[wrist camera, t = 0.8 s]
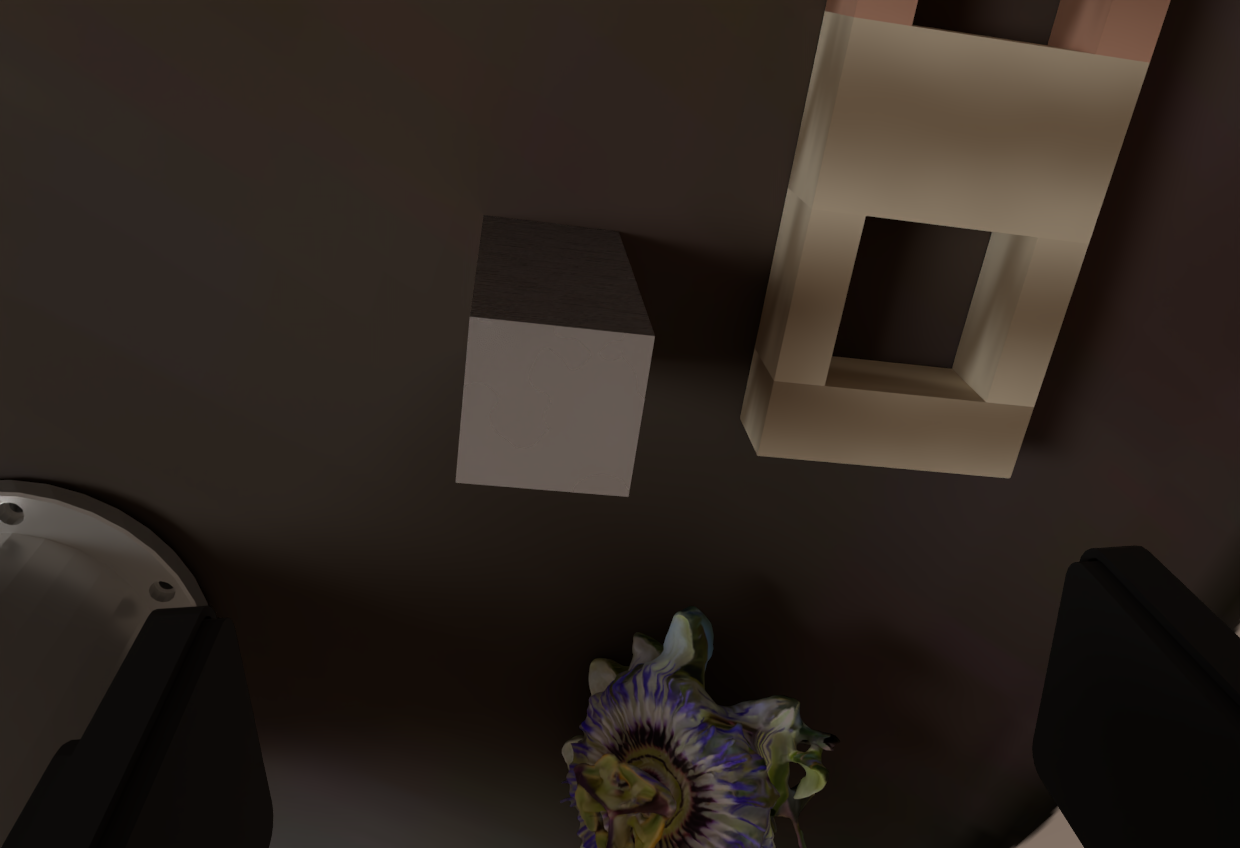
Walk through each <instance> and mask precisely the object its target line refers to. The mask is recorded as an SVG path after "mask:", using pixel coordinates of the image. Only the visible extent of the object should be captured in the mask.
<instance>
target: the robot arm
mask: <svg viewBox="0 0 1240 848" xmlns="http://www.w3.org/2000/svg"><path fill="white" fill-rule="evenodd" d="M1032 750H1033V759H1034V764H1035V767H1036V770H1037V773H1038V775H1039V776H1040V778H1041V780H1042V782H1043V783H1044V785H1045V786H1046V788H1047V790H1048V791H1049V793H1050V794H1051V796H1052V797H1053V799H1054V801H1055V802H1056V804H1057V805H1058V807H1059V809H1060V810H1061V812H1062V813H1063V815H1064V817H1065V818H1066V820H1067V821H1068V823H1069V824H1070V826H1071V828H1072V829H1073V831H1074V832H1075V834H1076V835H1077V837H1078V839H1079V840H1080V842H1081V843H1082V845H1083V847H1084V848H1240V638H1239V637H1238V636H1237V635H1236V634H1235V633H1234V632H1233V631H1232V630H1231V629H1230V628H1229V627H1228V626H1227V625H1226V624H1225V623H1224V622H1223V621H1222V620H1221V619H1219V618H1218V617H1217V616H1216V615H1215V614H1214V613H1213V612H1212V611H1211V610H1210V609H1209V608H1208V607H1207V606H1206V605H1205V604H1204V603H1203V602H1202V601H1201V600H1200V599H1198V598H1197V597H1196V596H1195V595H1194V594H1193V593H1192V592H1191V591H1190V590H1189V589H1188V588H1187V587H1186V586H1185V585H1184V584H1183V583H1182V582H1181V581H1180V580H1179V579H1178V578H1176V577H1175V576H1174V575H1173V574H1172V573H1171V572H1170V571H1169V570H1168V569H1167V568H1166V567H1165V566H1164V565H1163V564H1162V563H1161V562H1160V561H1159V560H1158V559H1157V558H1155V557H1154V556H1153V555H1152V554H1151V553H1150V552H1149V551H1148V550H1146V549H1145V548H1143V547H1141V546H1122V547H1107V548H1091V549H1089V550H1087V551H1085V552H1084V554H1083V555H1082V557H1081V559H1080V562H1075V563H1073V564H1071V565H1070V566H1069V568H1068V570H1067V573H1066V577H1065V582H1064V587H1063V592H1062V597H1061V602H1060V608H1059V613H1058V618H1057V623H1056V628H1055V633H1054V638H1053V643H1052V648H1051V653H1050V658H1049V663H1048V668H1047V673H1046V678H1045V683H1044V688H1043V693H1042V698H1041V703H1040V708H1039V713H1038V718H1037V723H1036V728H1035V733H1034V739H1033V746H1032ZM272 829H273V807H272V800H271V796H270V791H269V786H268V781H267V777H266V772H265V767H264V763H263V758H262V753H261V748H260V744H259V739H258V734H257V730H256V725H255V720H254V715H253V711H252V706H251V701H250V697H249V692H248V687H247V683H246V678H245V673H244V668H243V664H242V659H241V654H240V649H239V645H238V640H237V635H236V631H235V627H234V624H233V622H232V620H231V619H229V618H218V619H217V617H216V613H215V612H214V610H213V608H212V607H210V606H208V603H207V601H206V599H205V597H204V595H203V593H202V591H201V589H200V587H199V585H198V583H197V581H196V579H195V577H194V576H193V574H192V573H191V572H190V571H189V569H188V568H187V567H186V566H185V564H184V563H183V562H182V560H181V559H180V558H179V557H178V555H177V554H176V553H175V552H174V551H173V550H172V549H171V548H170V547H169V546H168V545H167V544H166V543H164V542H163V541H162V540H161V539H160V538H159V537H158V536H157V535H156V534H154V533H153V532H152V531H151V530H150V529H149V528H147V527H146V526H144V525H143V524H141V523H139V522H138V521H136V520H135V519H133V518H132V517H130V516H128V515H127V514H125V513H124V512H122V511H121V510H119V509H117V508H115V507H112V506H110V505H108V504H106V503H103V502H101V501H99V500H96V499H94V498H92V497H90V496H87V495H85V494H82V493H78V492H75V491H71V490H67V489H64V488H60V487H56V486H53V485H49V484H42V483H33V482H25V481H16V480H0V848H269V845H270V841H271V836H272Z"/></svg>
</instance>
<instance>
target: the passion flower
mask: <svg viewBox="0 0 1240 848" xmlns="http://www.w3.org/2000/svg"><path fill="white" fill-rule="evenodd" d="M713 639H714V634H713V629H712V624H711V622H710V621H709V620H708V618H707V617H706V616H705V615H704V614H703V613H702V612H701V611H700V610H699V609H698V608H696V607H694V606H689V607H687V608H685V609H683V610H682V611H679V612H677V613H676V614H675V615H674V616H673V620H672V622H671V625H670V628H669V631H668V633H667V635H666V638H665V641H664V644H663V645H664V646H663V645H662V644H661V643H659V642H658V641H657V640H655V639H653V638H652V637H649V636H647V635H645V634H642V633H640V632H637V633H635V634H634V636H633V645H632V653H633V658H632V661H631V663H630V666H622V665H620V664H619V663H617V662H615V661H613V660H611V659H605V658H596V659H594V660H593V661H592V662H591V664H590V669H589V678H588V679H589V688H590V691H591V695H592V696H590V697H589V706H588V709H587V717H586V719H585V721H583V722H582V723H581V725H580V726H579V729H581V730H582V731H583V732H584V736H582V735H577V736H574V737H572V738H571V739H570V740H568V741H566V742H565V744H564V746H563V747H562V755H563V757H564V759H565V762H566V763H567V765H568V769H569V772H568V774H567V775H566V778H567V780H565V781H563V782H561V783H562V784H563V783H569V784H570V790H569V792H570V796H571V797H570V798H565V799H563V800H561V801H560V802H561V803H563V802H565V801H570V802H571V805H570V807H573V806H575V807H576V808H577V810H578V811H579V814H578V817H577V819H578V820H579V821H580V828H579V831H578V832H577V835H578V836H579V837H580V838H581V839H582V842H581V845H580V848H776V846H775V844H774V841H773V838H774V833H773V831H774V832H777V827H776V821H775V819H774V816H783V817H785V818H787V817H788V818H790V819H791V820H792V822H793V825H794V828H795V832H796V834H797V838H798V844H799V847H800V848H807V847H806V844H805V842H804V839H803V832H802V830H801V829H800V828H799V823H798V817H799V814H800V812H801V811H802V810H803V808H804V807H805V805H806V804H807V803H808V801H809V800H810V799H811V798H812V797H813V796H814V795H815V793H817V792H818V791H820V790H822V789H823V788H824V786H825V784H826V783H827V782H828V779H829V774H828V772H829V771H828V770H827V769H826V768H825V767H824V766H823V764H822V763H821V755H822V752H823V749H825V750H830V751H833V749H832V747H834V746H835V744H837V743H839V742H840V741H839V739H838V738H837V737H836V736H835V735H832V734H829V733H824V732H821V731H817V730H812V729H811V728H809V727H808V726H807V725H806V724H804V723H803V721H802V720H801V718H800V712H799V710H800V701H798V700H796V699H795V698H790V697H787V696H782V695H774V696H771V697H767V698H762V699H758V700H750V701H744V702H741V703H738V704H735V705H732V706H721V705H717V704H716V703H715V702H714V701H713V700H712V698H711V697H710V696H709V695H708V694H707V692H706V691H705V681H704V674H705V670H706V665H707V662H708V661H709V659H710V658H711V657H712V652H713V649H714V648H713ZM801 743H803V744H807V745H810V744H811V747H810V748H809V749H808V750H807V751H806V752H802V751H798V750H797V744H801ZM791 761H792V762H795V763H799V764H800V765H802V766H803V768H804V769H805V771H806V776H805V777H803V778H802V779H801V782H800V783H799V784H798V785H796V786H795V787H793V788H789V785H788V779H789V776H790V767H789V762H791Z"/></svg>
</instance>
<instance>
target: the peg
mask: <svg viewBox="0 0 1240 848" xmlns="http://www.w3.org/2000/svg"><path fill="white" fill-rule="evenodd" d="M654 339H655V335H654V332H653V329H652V326H651V323H650V320H649V317H648V315H647V312H646V309H645V306H644V303H643V300H642V297H641V295H640V292H639V289H638V286H637V283H636V280H635V277H634V274H633V272H632V269H631V266H630V263H629V260H628V257H627V254H626V251H625V249H624V246H623V243H622V240H621V237H620V234H619V231H611V230H602V229H594V228H586V227H577V226H569V225H560V224H552V223H544V222H535V221H527V220H518V219H510V218H502V217H493V216H485V215H483V223H482V230H481V238H480V245H479V253H478V260H477V268H476V275H475V283H474V290H473V298H472V305H471V312H470V322H469V333H468V345H467V356H466V368H465V380H464V391H463V403H462V414H461V426H460V437H459V449H458V460H457V472H456V483H467V484H479V485H491V486H503V487H515V488H527V489H539V490H551V491H563V492H575V493H587V494H599V495H612V496H624V497H628V496H629V490H630V484H631V478H632V472H633V466H634V460H635V454H636V448H637V442H638V436H639V430H640V424H641V418H642V412H643V406H644V400H645V394H646V388H647V382H648V376H649V369H650V363H651V357H652V351H653V345H654Z"/></svg>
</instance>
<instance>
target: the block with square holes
mask: <svg viewBox="0 0 1240 848" xmlns="http://www.w3.org/2000/svg"><path fill="white" fill-rule="evenodd" d="M1170 1H1171V0H1061V1H1060V4H1059V7H1058V11H1057V14H1056V18H1055V21H1054V24H1053V28H1052V31H1051V34H1050V38H1049V41H1048V45H1042V44H1035V43H1029V42H1022V41H1016V40H1009V39H1003V38H996V37H990V36H983V35H977V34H970V33H964V32H957V31H951V30H944V29H938V28H932V27H925V26H919V25H912V23H913V19H914V15H915V11H916V7H917V3H918V0H827V3H826V8H825V13H824V18H823V23H822V27H821V32H820V37H819V42H818V47H817V51H816V56H815V61H814V66H813V71H812V75H811V80H810V85H809V90H808V95H807V99H806V104H805V109H804V114H803V118H802V123H801V128H800V133H799V138H798V142H797V147H796V152H795V157H794V162H793V166H792V171H791V176H790V181H789V186H788V190H787V195H786V200H785V205H784V210H783V214H782V219H781V224H780V229H779V234H778V238H777V243H776V248H775V253H774V257H773V262H772V267H771V272H770V277H769V281H768V286H767V291H766V296H765V301H764V305H763V310H762V315H761V320H760V325H759V329H758V334H757V339H756V344H755V349H754V353H753V358H752V363H751V368H750V373H749V377H748V382H747V387H746V392H745V396H744V401H743V406H742V411H741V416H740V419H741V421H742V424H743V426H744V428H745V430H746V432H747V434H748V436H749V439H750V441H751V443H752V445H753V447H754V449H755V451H756V453H757V456H766V457H778V458H789V459H800V460H811V461H822V462H833V463H844V464H855V465H867V466H878V467H889V468H900V469H911V470H922V471H933V472H944V473H956V474H967V475H978V476H989V477H1000V478H1010V477H1011V474H1012V471H1013V468H1014V465H1015V462H1016V459H1017V456H1018V453H1019V450H1020V447H1021V444H1022V441H1023V438H1024V435H1025V433H1026V430H1027V427H1028V424H1029V421H1030V418H1031V415H1032V412H1033V409H1034V406H1035V403H1036V400H1037V397H1038V394H1039V391H1040V388H1041V385H1042V382H1043V379H1044V376H1045V373H1046V370H1047V367H1048V364H1049V361H1050V358H1051V355H1052V352H1053V349H1054V346H1055V343H1056V340H1057V337H1058V334H1059V331H1060V328H1061V325H1062V322H1063V319H1064V316H1065V313H1066V310H1067V307H1068V304H1069V301H1070V298H1071V296H1072V293H1073V290H1074V287H1075V284H1076V281H1077V278H1078V275H1079V272H1080V269H1081V266H1082V263H1083V260H1084V257H1085V254H1086V251H1087V248H1088V245H1089V242H1090V239H1091V236H1092V233H1093V230H1094V227H1095V224H1096V221H1097V218H1098V215H1099V212H1100V209H1101V206H1102V203H1103V200H1104V197H1105V194H1106V191H1107V188H1108V185H1109V182H1110V179H1111V176H1112V173H1113V170H1114V167H1115V164H1116V162H1117V159H1118V156H1119V153H1120V150H1121V147H1122V144H1123V141H1124V138H1125V135H1126V132H1127V129H1128V126H1129V123H1130V120H1131V117H1132V114H1133V111H1134V108H1135V105H1136V102H1137V99H1138V96H1139V93H1140V90H1141V87H1142V84H1143V81H1144V78H1145V75H1146V72H1147V69H1148V66H1149V63H1150V60H1151V57H1152V54H1153V51H1154V48H1155V45H1156V42H1157V39H1158V36H1159V33H1160V30H1161V28H1162V25H1163V22H1164V19H1165V16H1166V13H1167V10H1168V7H1169V4H1170ZM866 216H871V217H879V218H887V219H895V220H903V221H911V222H919V223H927V224H935V225H943V226H951V227H959V228H967V229H975V230H983V231H991V232H992V234H991V238H990V241H989V245H988V248H987V251H986V255H985V258H984V262H983V265H982V268H981V272H980V275H979V278H978V282H977V285H976V289H975V292H974V295H973V299H972V302H971V306H970V309H969V312H968V316H967V319H966V323H965V326H964V329H963V333H962V336H961V339H960V343H959V346H958V350H957V353H956V356H955V360H954V363H953V367H952V369H950V368H940V367H931V366H921V365H912V364H902V363H892V362H883V361H873V360H864V359H854V358H845V357H835V356H832V354H833V349H834V345H835V341H836V337H837V333H838V329H839V325H840V321H841V316H842V312H843V308H844V304H845V300H846V296H847V292H848V288H849V283H850V279H851V275H852V271H853V267H854V263H855V259H856V254H857V250H858V246H859V242H860V238H861V234H862V230H863V226H864V221H865V217H866Z"/></svg>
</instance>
